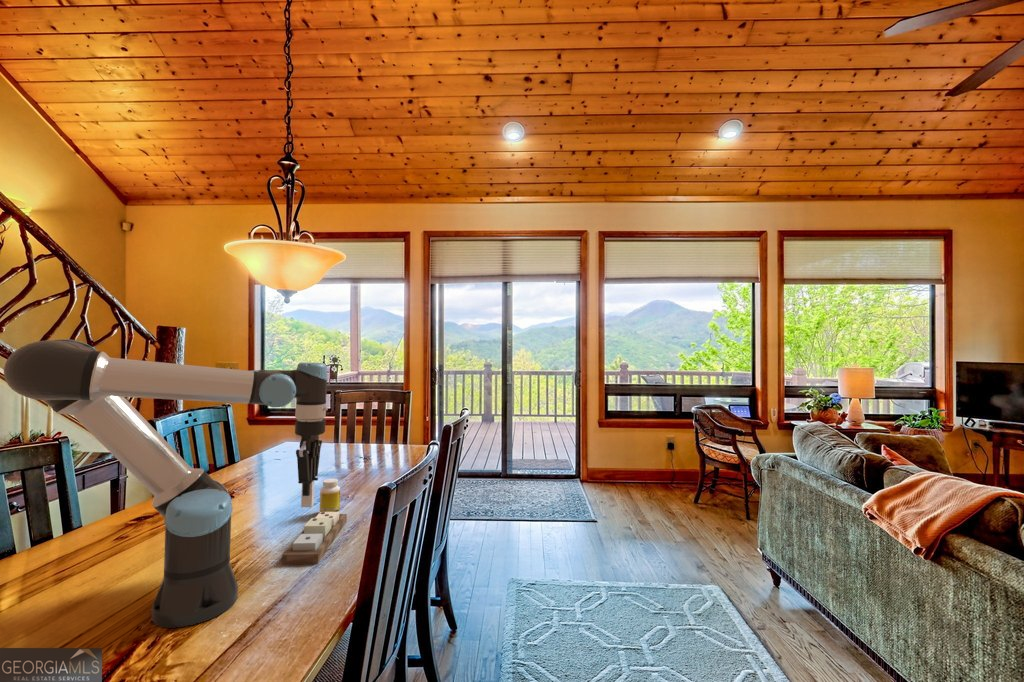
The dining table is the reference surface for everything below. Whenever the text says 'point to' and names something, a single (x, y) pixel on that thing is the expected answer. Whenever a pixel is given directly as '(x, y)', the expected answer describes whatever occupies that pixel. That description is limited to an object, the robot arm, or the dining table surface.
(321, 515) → the tile three
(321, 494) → the pill bottle
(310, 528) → the tile two
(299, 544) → the tile one
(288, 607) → the dining table surface
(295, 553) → the tile tray
